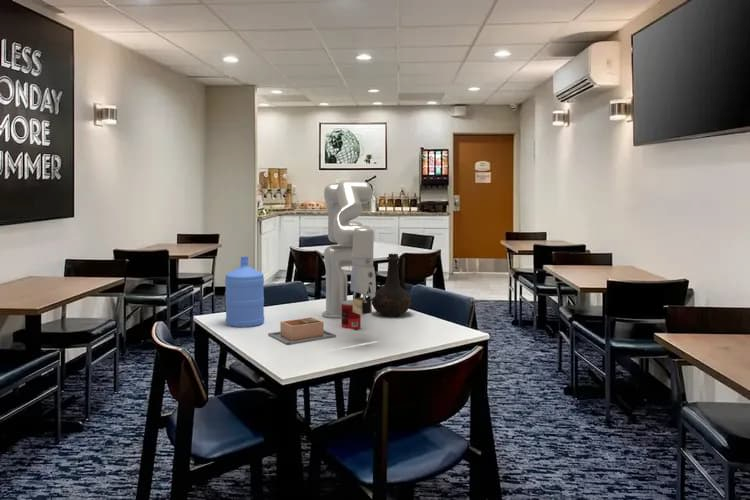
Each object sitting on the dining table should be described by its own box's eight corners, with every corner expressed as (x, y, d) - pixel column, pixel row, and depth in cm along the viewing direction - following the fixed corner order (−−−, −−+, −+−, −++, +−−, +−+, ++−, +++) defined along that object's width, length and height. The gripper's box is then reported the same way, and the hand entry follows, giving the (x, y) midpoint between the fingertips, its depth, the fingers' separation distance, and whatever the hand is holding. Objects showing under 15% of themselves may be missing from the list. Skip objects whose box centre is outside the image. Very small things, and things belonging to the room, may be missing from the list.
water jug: (265, 326, 218) (265, 258, 216) (226, 328, 214) (225, 259, 211) (262, 318, 233) (262, 254, 230) (225, 320, 229) (224, 255, 226)
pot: (311, 331, 207) (311, 317, 207) (323, 336, 200) (323, 321, 200) (280, 336, 200) (280, 321, 199) (291, 341, 192) (291, 326, 192)
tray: (314, 330, 212) (314, 326, 212) (336, 339, 199) (336, 334, 199) (268, 337, 201) (268, 333, 200) (287, 347, 188) (287, 342, 188)
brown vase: (366, 311, 249) (366, 252, 246) (400, 309, 255) (401, 251, 253) (380, 320, 232) (381, 256, 229) (417, 317, 239) (418, 255, 236)
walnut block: (311, 331, 205) (311, 318, 205) (318, 334, 201) (318, 321, 200) (300, 333, 202) (300, 320, 202) (306, 335, 198) (306, 322, 198)
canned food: (363, 327, 219) (363, 300, 218) (356, 331, 211) (356, 304, 210) (346, 325, 221) (346, 299, 220) (338, 330, 214) (338, 303, 213)
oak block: (363, 310, 197) (364, 297, 197) (371, 313, 193) (372, 299, 193) (352, 311, 194) (352, 298, 194) (360, 314, 190) (360, 301, 190)
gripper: (385, 264, 187) (384, 315, 189) (358, 258, 201) (357, 305, 203) (367, 266, 182) (367, 317, 185) (341, 259, 196) (340, 308, 198)
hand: (362, 310), depth 194 cm, fingers closed on oak block, 5 cm apart
